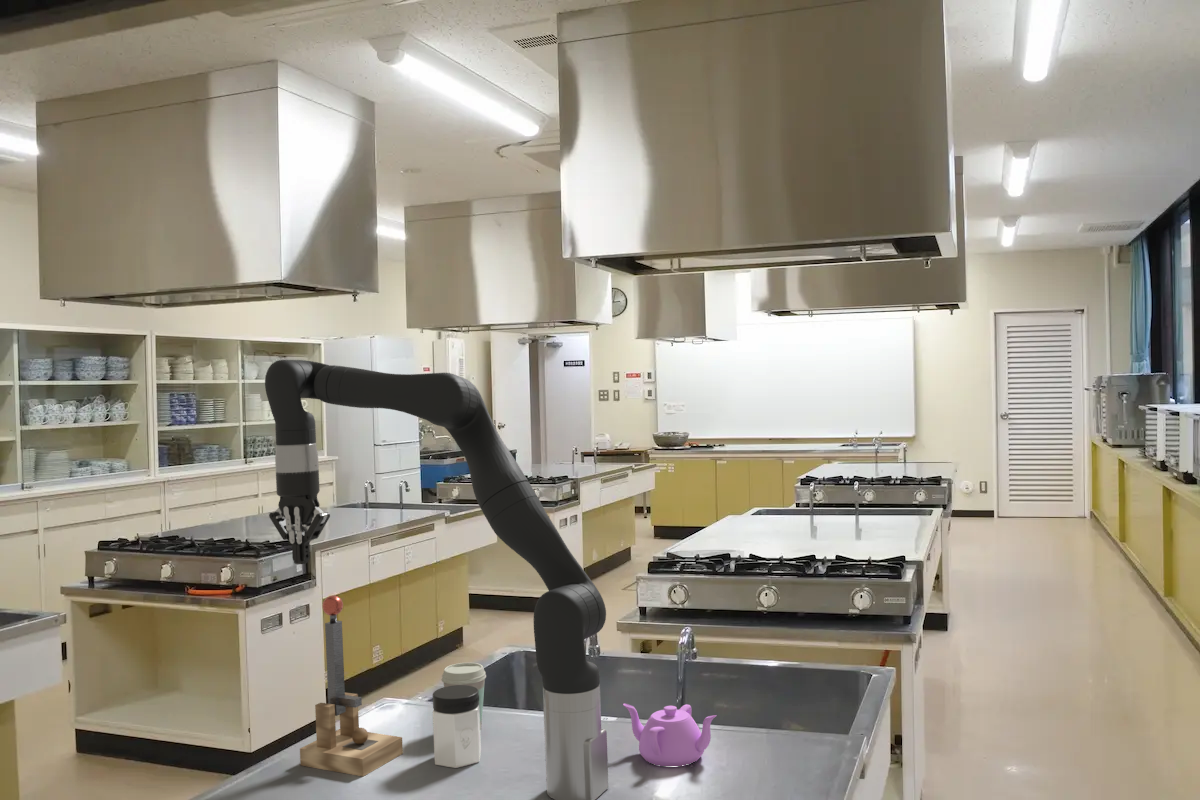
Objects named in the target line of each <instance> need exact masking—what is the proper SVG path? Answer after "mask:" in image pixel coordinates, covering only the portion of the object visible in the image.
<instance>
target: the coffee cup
mask: <svg viewBox="0 0 1200 800" xmlns="http://www.w3.org/2000/svg"><path fill="white" fill-rule="evenodd" d="M486 673H487V672H486V671H485V668H484V666H483V665H482V664H481V663H477V662H459V663H455V664H454V663H453V664H450V665H447V666H446V667H445V668H444V669H443V673H442V675H441V677H442V678H441V682H443V687H447V686H454V685H468V686H473V687H475V688H477V689H478V691H479V711H480V731H481V730H482V722H483V710H484V709H483V708H484V693H485V681H486V678H487V674H486Z"/></svg>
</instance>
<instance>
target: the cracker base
mask: <svg viewBox="0 0 1200 800" xmlns="http://www.w3.org/2000/svg"><path fill="white" fill-rule="evenodd" d="M345 695H349V696H356V697H359V694H358V693H354V692H352V693H351V692H345ZM314 705H315V706H314V707H315V708H314V709H315V710H314V711H315V712H314V713H315V732H316V734H315V735H316V739H315V740H314V741H313V742H310V743H309V744H307V745H304V746H302V747H300V748H299V760H300V762H299V763H300V766H301V767H308V768H314V769H319V770H324V771H330V772H336V773H341V774H347V775H353V776H358V777H365V776H366V775H368V774H370V773H372V772H374V771H376V770H377V769H379V768H380V767H382V766H384V765H385V764H387V763H389V762H391V761H393V760H394V759H397V758H398V757H400V756H402V755H403V754H404V751H403V749H404V748H403V745H404V744H403V737H402V736H395V735H389V734H383V733H377V732H371V731H368V730H367V729H366V728H364V727H359V726H360V725H359V724H360V723H359V722H360V721H359V720H360V718H359V706H358V707H356V708H354V707H345V708H346V712H344V713H342V714H340V715H339V728H338V729H336V716H335V705H334V704H328V702H327V703H326V702H319V703H316V704H314Z"/></svg>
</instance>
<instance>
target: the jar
mask: <svg viewBox="0 0 1200 800" xmlns="http://www.w3.org/2000/svg"><path fill="white" fill-rule="evenodd" d="M432 709H433V711H432V726H433V732H432V733H433V751H434V752H433V753H434V764H435V765H436V766H440V767H441V766H442V767H448V768H452V769H458V768H463V767H466V766H470V765H474V764H477V763H479V762H480V760H481V755H482V739H481V730H480V711H479V691H478V689H477V688H475V687H473V686H468V685H454V686H447V687H444V686H443V687H441V688H438V689H436V690H434V691H433V693H432Z"/></svg>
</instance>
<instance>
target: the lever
mask: <svg viewBox="0 0 1200 800" xmlns="http://www.w3.org/2000/svg"><path fill="white" fill-rule="evenodd" d="M343 608H344V602H343V600H342V598H341V597H339V596H338V595H335V594H334V595H329V596H327V597H326V598H324V600H323V602H322V611H323V612H324V613H325V614H326V615H328V616H329V621H328V622H324V629H325V633H324V634H325V635H324V636H325V653H326V678H327V682H326V684H327V701H328V702H327V704H334V705H335V717H338V716H340V714H342V713H344V712H346V708H345V707H354V708H356V707H358V708H359V707H361V706H362V705H363V702H362V699H363V698H362V696H358V697H356V696H349V695H345V691H346V689H345V685H346V684H345V670H344V669H345V667H344V666H345V664H344V642H343V641H344V640H343V621H342V620H338V616H337V615H339V614H340V613H341V612H342V611H343Z"/></svg>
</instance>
